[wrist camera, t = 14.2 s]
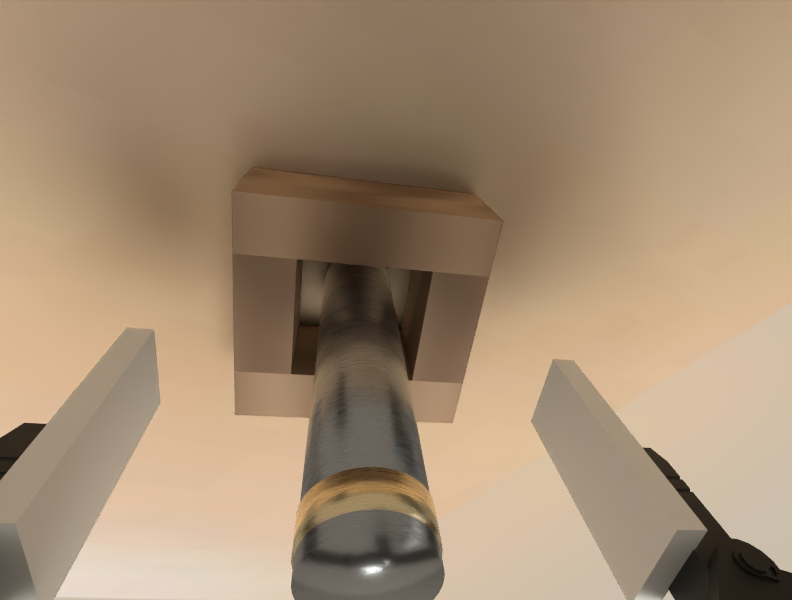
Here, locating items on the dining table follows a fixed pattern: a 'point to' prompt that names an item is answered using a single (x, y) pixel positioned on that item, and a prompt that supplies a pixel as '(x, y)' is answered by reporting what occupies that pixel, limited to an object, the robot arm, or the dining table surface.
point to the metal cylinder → (363, 457)
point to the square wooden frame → (360, 245)
